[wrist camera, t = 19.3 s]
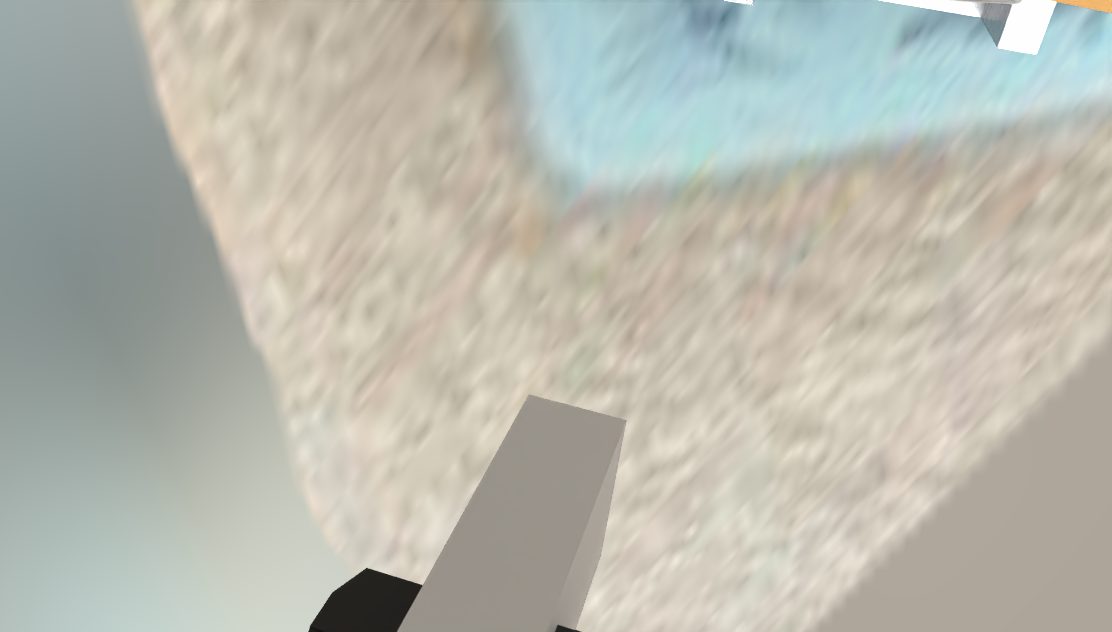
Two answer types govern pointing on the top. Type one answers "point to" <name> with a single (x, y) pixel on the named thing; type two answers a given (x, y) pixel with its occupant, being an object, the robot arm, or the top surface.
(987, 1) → the skincare box
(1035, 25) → the bracket
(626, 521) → the top surface
